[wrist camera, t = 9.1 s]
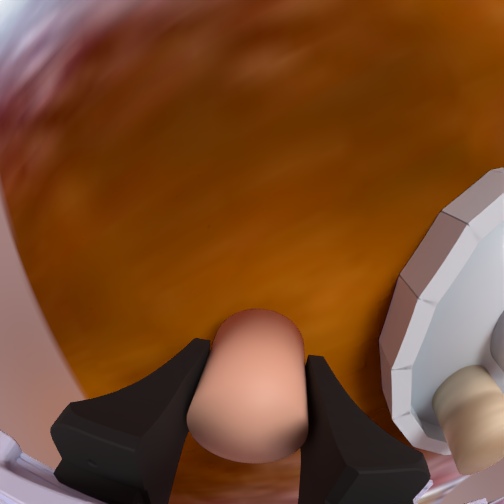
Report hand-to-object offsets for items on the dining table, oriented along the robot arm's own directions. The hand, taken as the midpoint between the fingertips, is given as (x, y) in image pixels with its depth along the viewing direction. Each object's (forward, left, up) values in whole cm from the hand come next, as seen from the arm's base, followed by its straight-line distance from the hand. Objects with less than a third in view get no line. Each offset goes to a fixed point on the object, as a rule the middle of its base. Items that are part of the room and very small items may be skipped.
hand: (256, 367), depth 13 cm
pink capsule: (0, 0, -2) cm, 2 cm away
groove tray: (+2, -15, -3) cm, 15 cm away
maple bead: (-2, -12, -2) cm, 13 cm away
